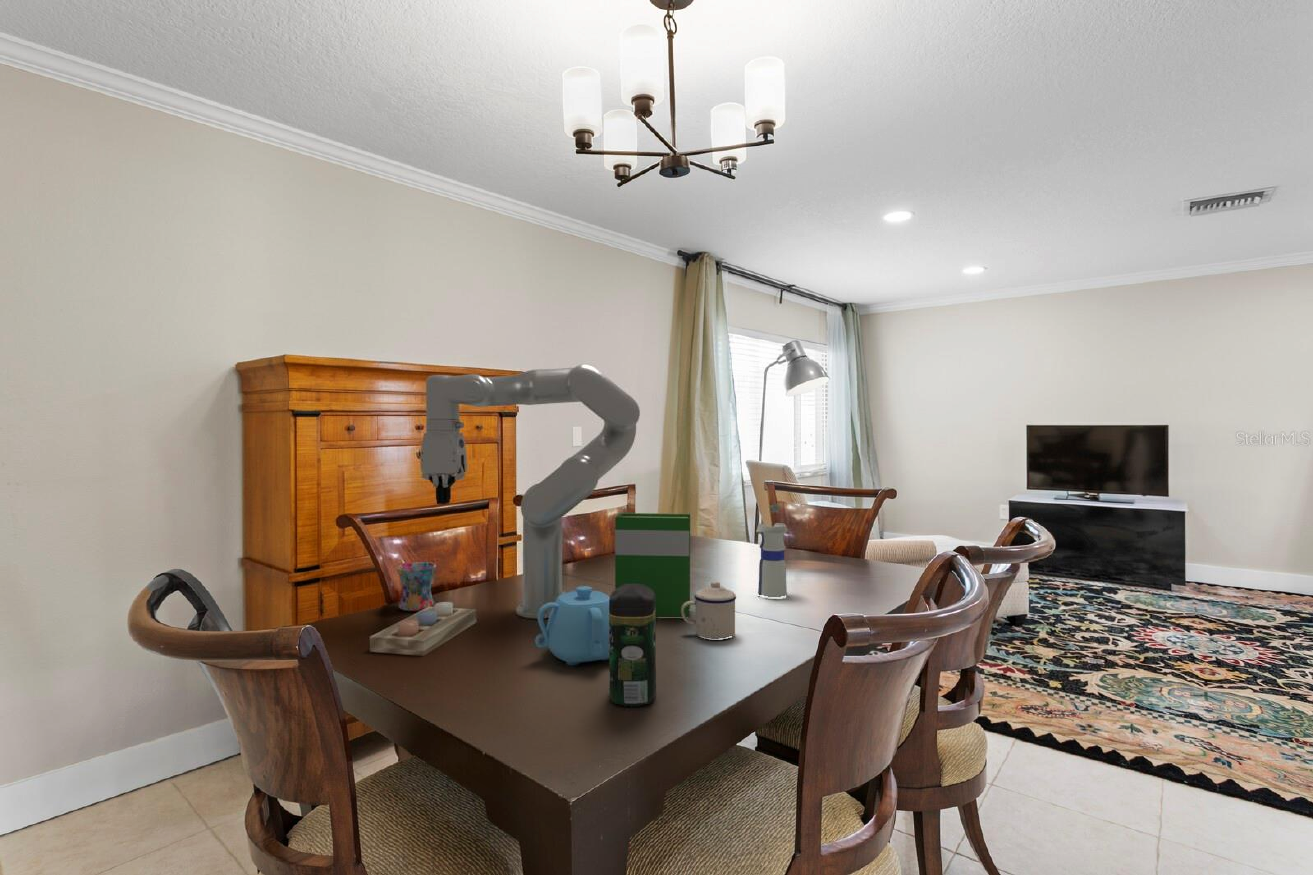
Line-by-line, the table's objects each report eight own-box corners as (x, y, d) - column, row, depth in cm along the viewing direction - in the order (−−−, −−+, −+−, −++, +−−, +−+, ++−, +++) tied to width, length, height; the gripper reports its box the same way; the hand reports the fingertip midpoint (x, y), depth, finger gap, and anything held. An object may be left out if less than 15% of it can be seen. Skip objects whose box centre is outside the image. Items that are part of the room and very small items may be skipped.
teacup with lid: (734, 628, 143) (734, 577, 142) (737, 642, 134) (737, 587, 133) (681, 627, 143) (681, 576, 143) (680, 641, 134) (681, 586, 134)
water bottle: (751, 592, 174) (752, 501, 173) (782, 591, 175) (782, 501, 174) (760, 600, 166) (760, 505, 165) (791, 599, 167) (792, 505, 166)
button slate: (440, 627, 139) (440, 611, 139) (430, 633, 135) (430, 616, 135) (423, 626, 140) (423, 610, 140) (413, 632, 136) (413, 615, 136)
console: (476, 622, 147) (476, 609, 147) (423, 655, 125) (423, 640, 125) (429, 619, 149) (429, 606, 149) (369, 651, 128) (369, 636, 128)
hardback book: (690, 610, 157) (690, 513, 157) (689, 619, 150) (689, 518, 149) (619, 608, 159) (619, 513, 158) (615, 617, 151) (615, 517, 151)
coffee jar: (612, 684, 112) (612, 579, 112) (657, 685, 112) (657, 580, 111) (605, 708, 102) (605, 594, 102) (654, 709, 102) (654, 595, 102)
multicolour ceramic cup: (420, 615, 153) (420, 571, 152) (388, 611, 155) (388, 568, 155) (450, 601, 164) (450, 561, 164) (419, 599, 167) (419, 558, 167)
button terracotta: (422, 638, 132) (422, 620, 132) (411, 644, 128) (411, 626, 128) (405, 637, 133) (404, 619, 133) (393, 643, 129) (393, 625, 129)
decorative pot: (525, 661, 123) (525, 591, 123) (574, 636, 137) (574, 574, 137) (594, 677, 115) (594, 603, 115) (639, 649, 129) (639, 583, 129)
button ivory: (456, 618, 146) (456, 602, 146) (447, 623, 142) (447, 607, 142) (440, 617, 147) (440, 601, 147) (431, 622, 143) (430, 606, 143)
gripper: (479, 427, 153) (479, 502, 154) (423, 427, 156) (423, 501, 157) (463, 427, 146) (464, 506, 146) (405, 427, 149) (406, 504, 149)
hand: (443, 503), depth 151 cm, fingers closed
